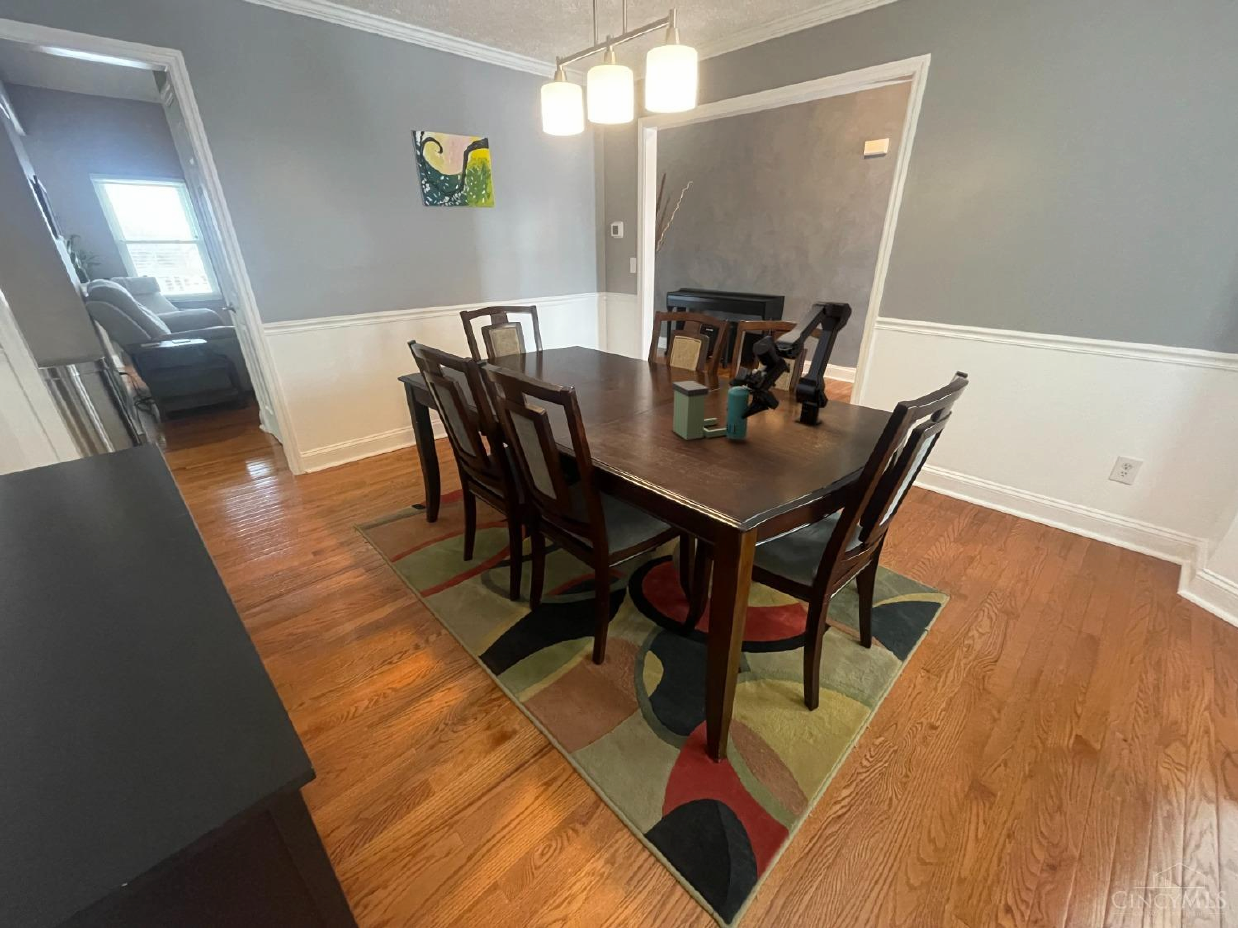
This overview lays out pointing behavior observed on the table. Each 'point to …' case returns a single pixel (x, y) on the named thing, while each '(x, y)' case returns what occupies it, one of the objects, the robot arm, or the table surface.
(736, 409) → the beverage bottle
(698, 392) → the drink station
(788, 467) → the table surface
